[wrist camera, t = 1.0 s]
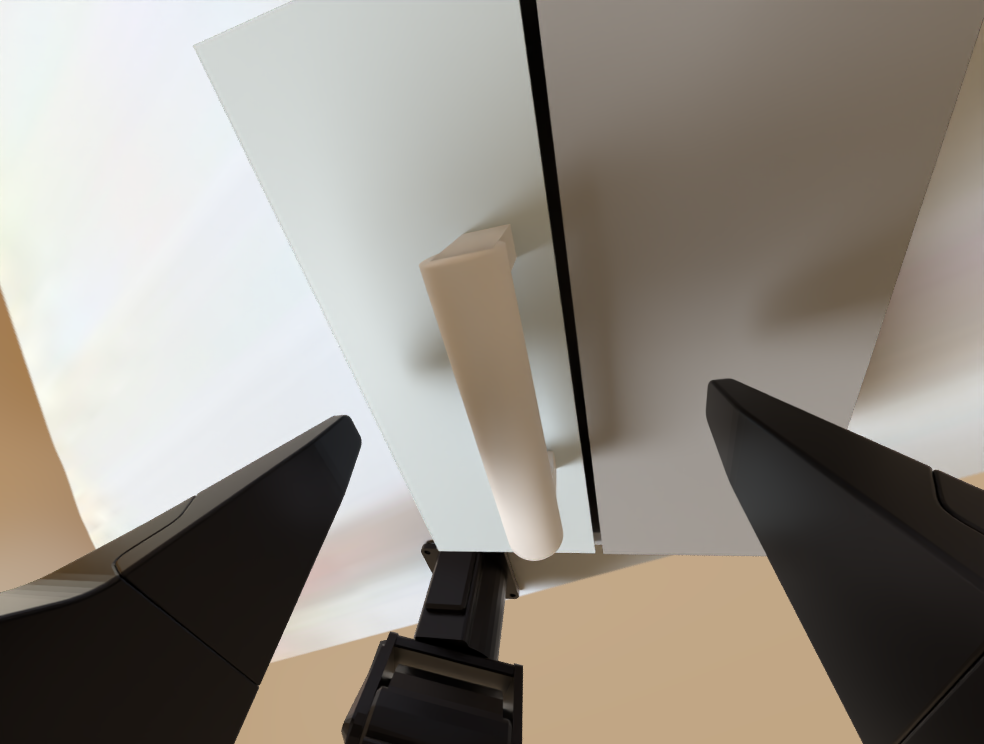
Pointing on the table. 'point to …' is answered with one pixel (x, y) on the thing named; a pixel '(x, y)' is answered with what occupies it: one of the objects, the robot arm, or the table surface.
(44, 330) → the table surface
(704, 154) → the cabinet
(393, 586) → the table surface
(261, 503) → the robot arm
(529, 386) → the rear flap
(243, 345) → the table surface
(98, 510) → the table surface
